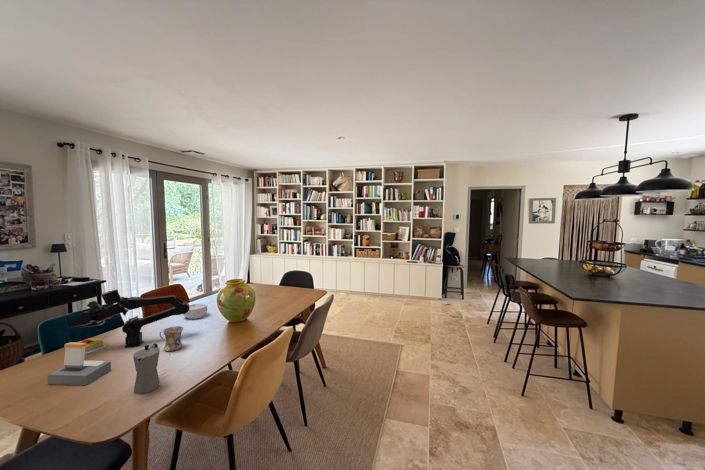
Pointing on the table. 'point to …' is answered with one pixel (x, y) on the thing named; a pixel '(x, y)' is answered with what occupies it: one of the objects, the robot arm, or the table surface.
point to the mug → (172, 338)
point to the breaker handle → (74, 355)
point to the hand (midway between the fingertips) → (72, 326)
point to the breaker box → (79, 373)
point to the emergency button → (92, 345)
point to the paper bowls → (196, 311)
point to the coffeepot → (146, 369)
